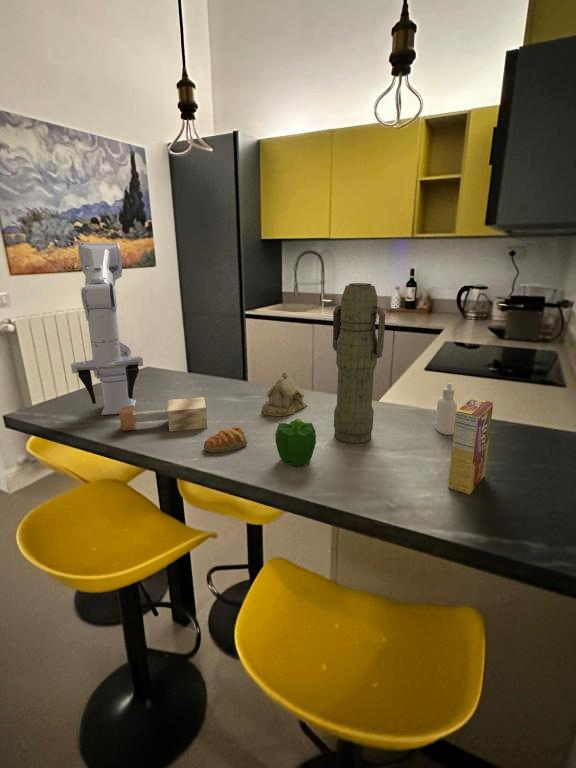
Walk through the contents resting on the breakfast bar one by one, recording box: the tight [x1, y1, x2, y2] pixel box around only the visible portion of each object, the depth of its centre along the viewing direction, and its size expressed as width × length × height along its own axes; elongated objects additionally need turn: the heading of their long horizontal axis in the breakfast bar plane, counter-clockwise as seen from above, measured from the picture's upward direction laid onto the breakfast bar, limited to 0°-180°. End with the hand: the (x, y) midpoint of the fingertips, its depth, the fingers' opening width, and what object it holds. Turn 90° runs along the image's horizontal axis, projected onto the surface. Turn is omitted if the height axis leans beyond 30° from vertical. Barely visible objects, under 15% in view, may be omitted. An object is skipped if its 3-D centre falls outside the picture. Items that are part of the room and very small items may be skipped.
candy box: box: [447, 398, 494, 495], centre depth 78 cm, size 9×4×15 cm, turn 140°
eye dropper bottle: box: [434, 382, 458, 436], centre depth 101 cm, size 4×6×12 cm
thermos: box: [332, 282, 386, 446], centre depth 94 cm, size 9×12×35 cm
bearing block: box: [167, 396, 208, 432], centre depth 107 cm, size 9×8×5 cm
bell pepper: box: [275, 417, 317, 467], centre depth 87 cm, size 8×8×10 cm
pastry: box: [203, 426, 248, 454], centre depth 95 cm, size 9×7×4 cm
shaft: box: [118, 405, 168, 431], centre depth 105 cm, size 16×4×4 cm, turn 104°
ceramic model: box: [261, 372, 308, 417], centre depth 117 cm, size 14×11×10 cm
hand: (112, 399), depth 96 cm, fingers open, 7 cm apart
